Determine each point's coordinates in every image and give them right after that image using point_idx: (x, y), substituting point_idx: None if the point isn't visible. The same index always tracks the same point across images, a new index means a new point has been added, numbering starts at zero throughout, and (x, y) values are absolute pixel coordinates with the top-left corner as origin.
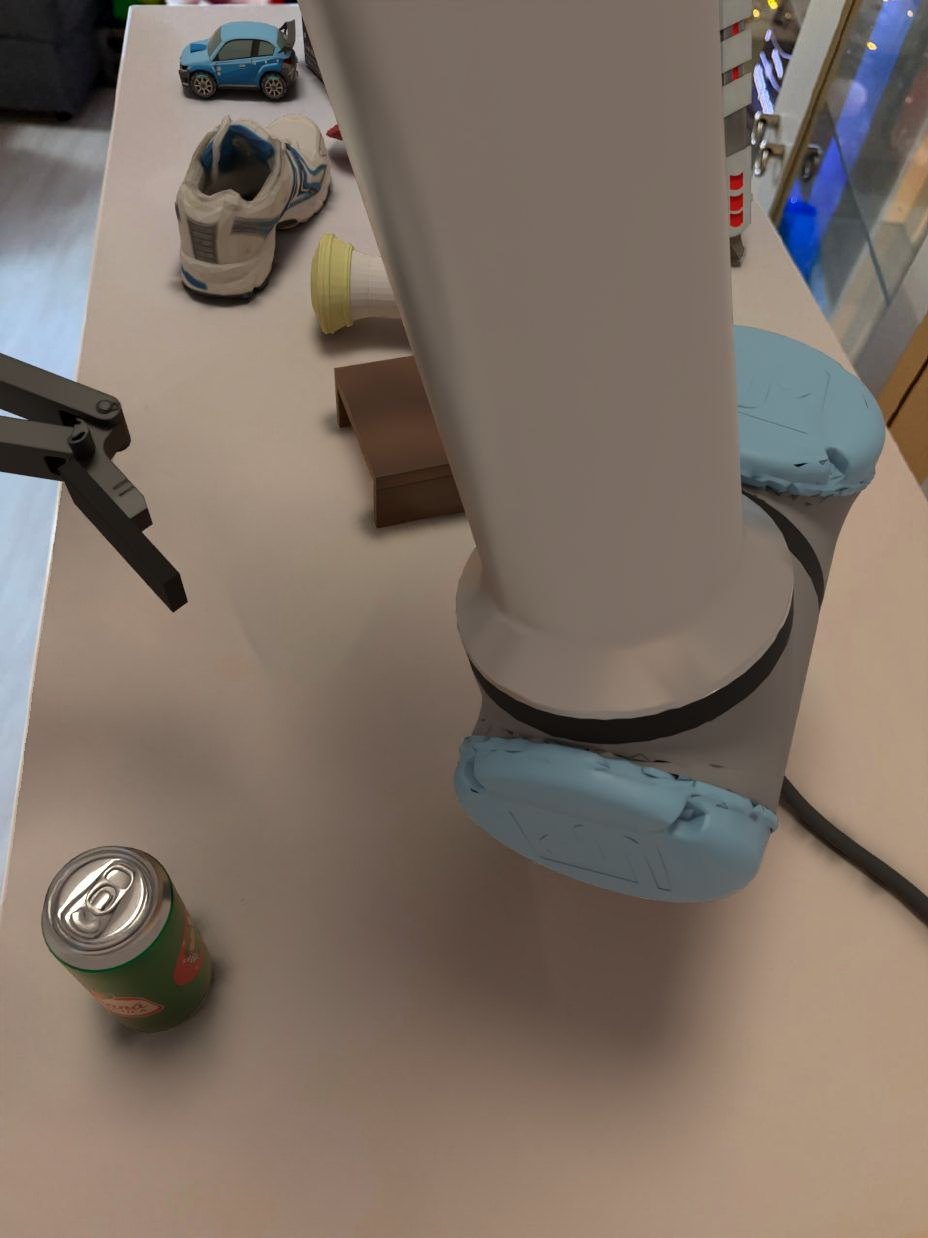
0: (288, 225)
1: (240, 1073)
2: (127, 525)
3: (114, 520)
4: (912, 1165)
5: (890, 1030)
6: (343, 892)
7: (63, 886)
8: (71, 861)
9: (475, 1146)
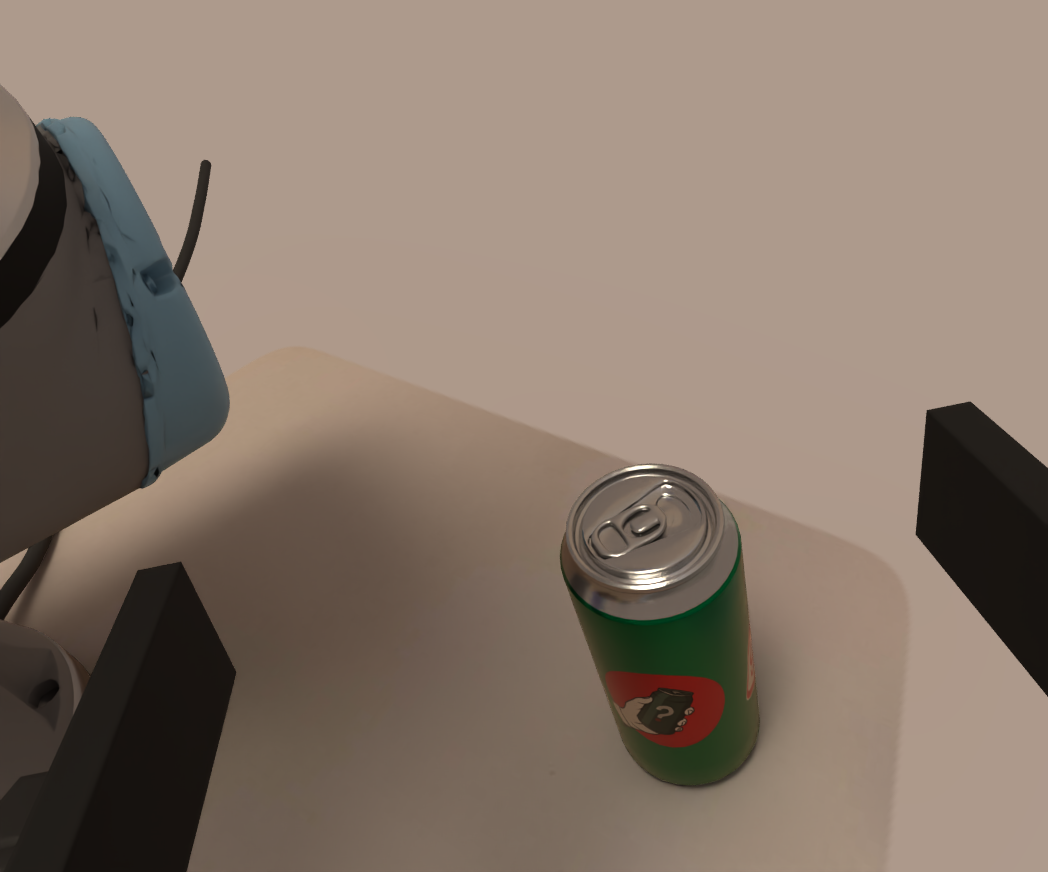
0: None
1: None
2: (96, 695)
3: (102, 718)
4: (256, 361)
5: None
6: (442, 717)
7: (685, 554)
8: (663, 583)
9: (488, 464)
